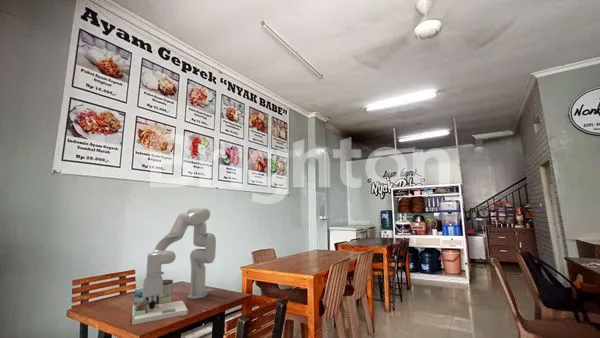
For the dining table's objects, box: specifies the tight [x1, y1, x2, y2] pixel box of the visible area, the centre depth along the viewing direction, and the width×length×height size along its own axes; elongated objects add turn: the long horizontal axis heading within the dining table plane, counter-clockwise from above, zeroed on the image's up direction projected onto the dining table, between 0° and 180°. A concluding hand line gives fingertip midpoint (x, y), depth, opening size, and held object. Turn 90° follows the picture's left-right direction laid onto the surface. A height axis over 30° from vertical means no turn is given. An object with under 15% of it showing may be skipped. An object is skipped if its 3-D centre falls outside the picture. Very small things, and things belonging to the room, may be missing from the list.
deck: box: [131, 300, 189, 326], centre depth 161 cm, size 27×20×4 cm
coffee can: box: [155, 279, 174, 305], centre depth 177 cm, size 10×10×14 cm
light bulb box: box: [133, 286, 154, 307], centre depth 178 cm, size 11×7×11 cm, turn 169°
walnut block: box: [136, 301, 148, 313], centre depth 156 cm, size 5×5×5 cm
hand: (151, 308), depth 159 cm, fingers closed
